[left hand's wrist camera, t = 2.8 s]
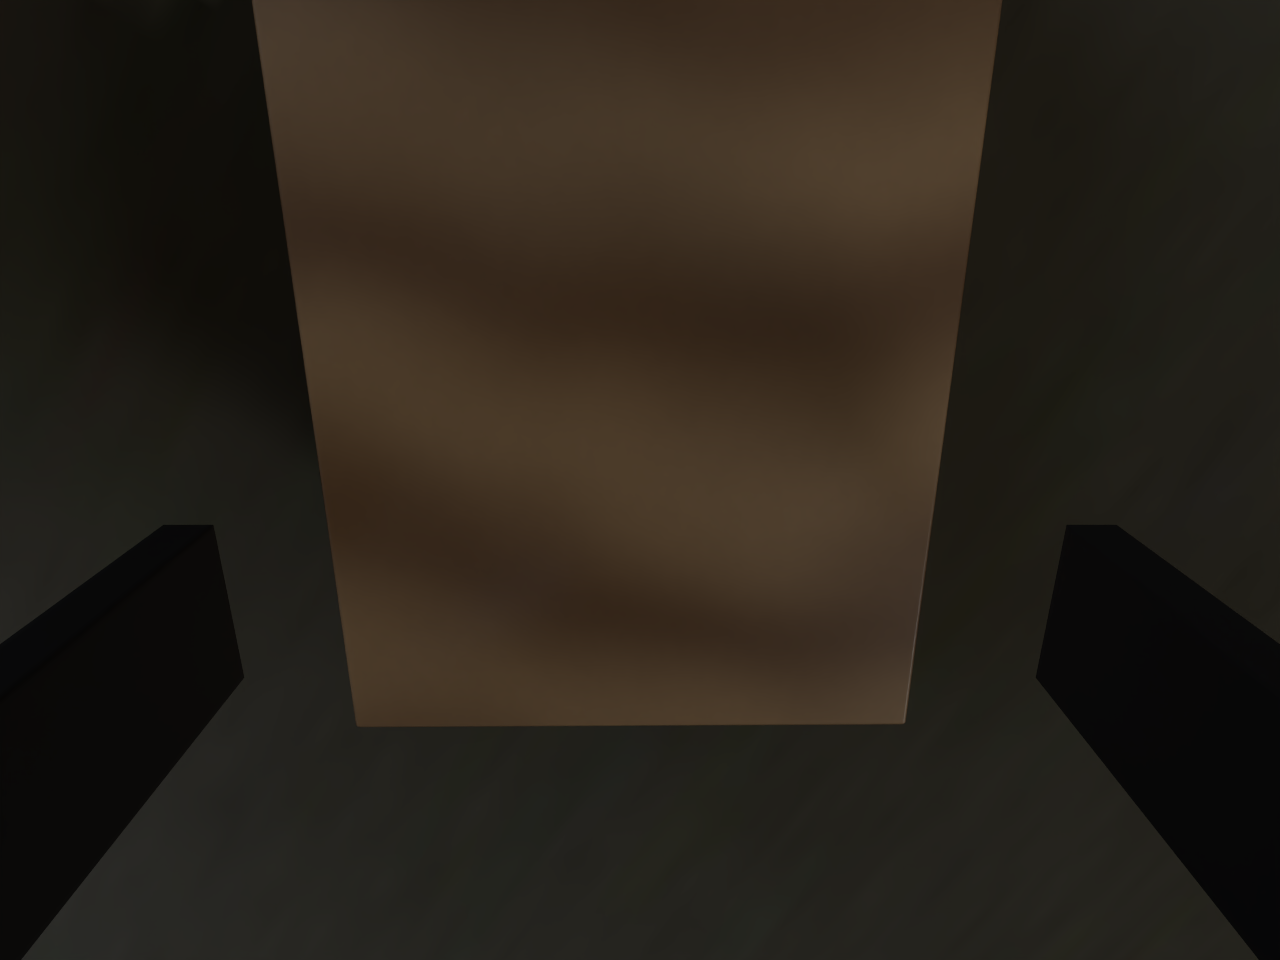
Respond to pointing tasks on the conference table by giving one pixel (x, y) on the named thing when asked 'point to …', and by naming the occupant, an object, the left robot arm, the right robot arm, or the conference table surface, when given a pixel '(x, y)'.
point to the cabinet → (628, 343)
